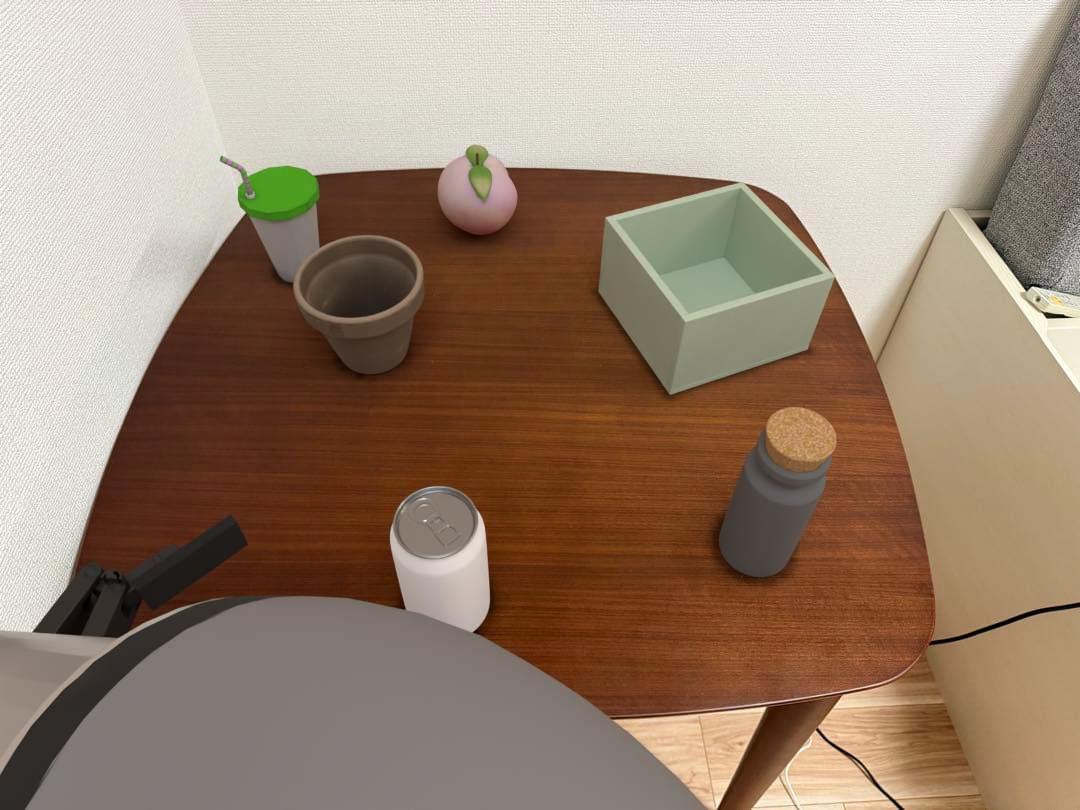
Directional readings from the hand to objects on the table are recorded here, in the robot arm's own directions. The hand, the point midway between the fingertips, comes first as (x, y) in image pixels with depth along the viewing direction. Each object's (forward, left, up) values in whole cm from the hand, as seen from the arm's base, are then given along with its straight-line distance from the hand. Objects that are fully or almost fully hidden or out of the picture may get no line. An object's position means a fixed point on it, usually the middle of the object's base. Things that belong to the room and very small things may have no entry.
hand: (304, 601), depth 48 cm
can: (+4, -9, -14) cm, 17 cm away
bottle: (-1, -34, -14) cm, 37 cm away
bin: (+24, -43, -14) cm, 51 cm away
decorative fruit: (+46, -27, -14) cm, 55 cm away
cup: (+47, -7, -14) cm, 49 cm away
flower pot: (+32, -11, -14) cm, 37 cm away
